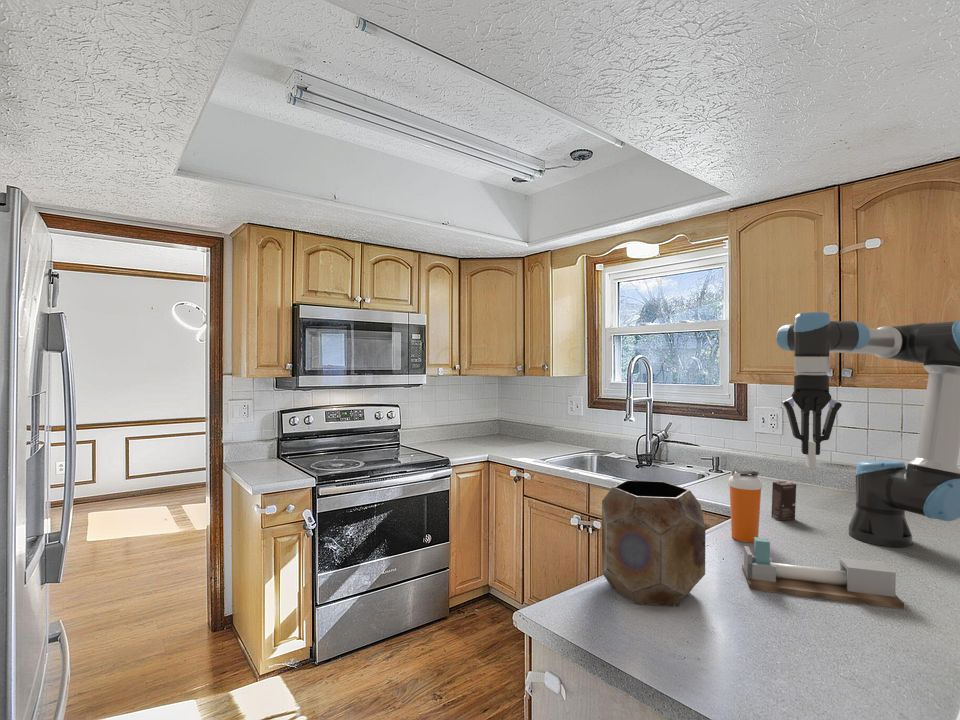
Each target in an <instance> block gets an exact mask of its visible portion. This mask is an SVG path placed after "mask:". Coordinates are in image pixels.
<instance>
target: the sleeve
mask: <svg viewBox="0 0 960 720" xmlns="http://www.w3.org/2000/svg"><path fill="white" fill-rule="evenodd" d="M839 570H842V571H847V591H852V592H860V593H868V594H876V595H884V596H892V597H895V595H896V586H897V585H896V584H897V583H896V582H897V581H896V579H897V574H896V571H894V570H893V569H892V568H891V567H890V565H888V564H887V563H886V562H882V561H881V562H880V561H870V560H863V559H852V558H844V557H840V558H839Z"/></svg>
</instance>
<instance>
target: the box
mask: <svg viewBox="0 0 960 720" xmlns="http://www.w3.org/2000/svg"><path fill="white" fill-rule="evenodd" d="M771 492H772V493H771V495H772V496H771V518H772V519H775V520H778V521H788V520H789V521H790V520H791V521H792V520H796V502H797V484H796V483H793V482H790V481H788V480H786V481H785V480H783V481H780V480H779V481H773V482H772V491H771Z"/></svg>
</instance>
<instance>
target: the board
mask: <svg viewBox="0 0 960 720" xmlns="http://www.w3.org/2000/svg"><path fill="white" fill-rule="evenodd" d="M741 569H742V572H743V575H744V578H745V580H746V583H747V586H748V588H749V590H755V591H763V592H770V593H778V594H786V595H792V596H800V597H808V598H817V599H823V600H831V601H839V602H847V603H854V604H855V603H856V604H862V605H869V606H878V607H886V608H892V609H893V608H894V609H901V610H905V603H904V602H903V600H902V599H900V598H899V596H897V595H896V594H895V597H892V596H884V595H876V594H868V593H860V592H852V591H847V586H845V585H837V584H829V583H821V582H812V581H804V580H796V579H788V578H779V577H776V582H771V581H763V580H755V579H748V578H747V576H746V573H745V571H744V564H742V565H741Z"/></svg>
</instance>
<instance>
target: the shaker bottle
mask: <svg viewBox="0 0 960 720" xmlns="http://www.w3.org/2000/svg"><path fill="white" fill-rule="evenodd" d="M759 474H760V472H759V471H755V470H754V471H753V470H741V471H739V469H733V470H732V471H731V476H730V477H729V478H728V486H729V502H730V505H729V506H730V508H729V509H730V510H729V511H730V525H731V526H730V527H731V529H730V530H731V537H732V539H733V540H736V541H738V542H744V543H754V537H759V532H760V531H759V530H760V529H759V527H760V514H761V511H760V510H761V496H762V494H761V493H762V489H763V482H762V480H761V479H760V478H759V477H758V475H759Z"/></svg>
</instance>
